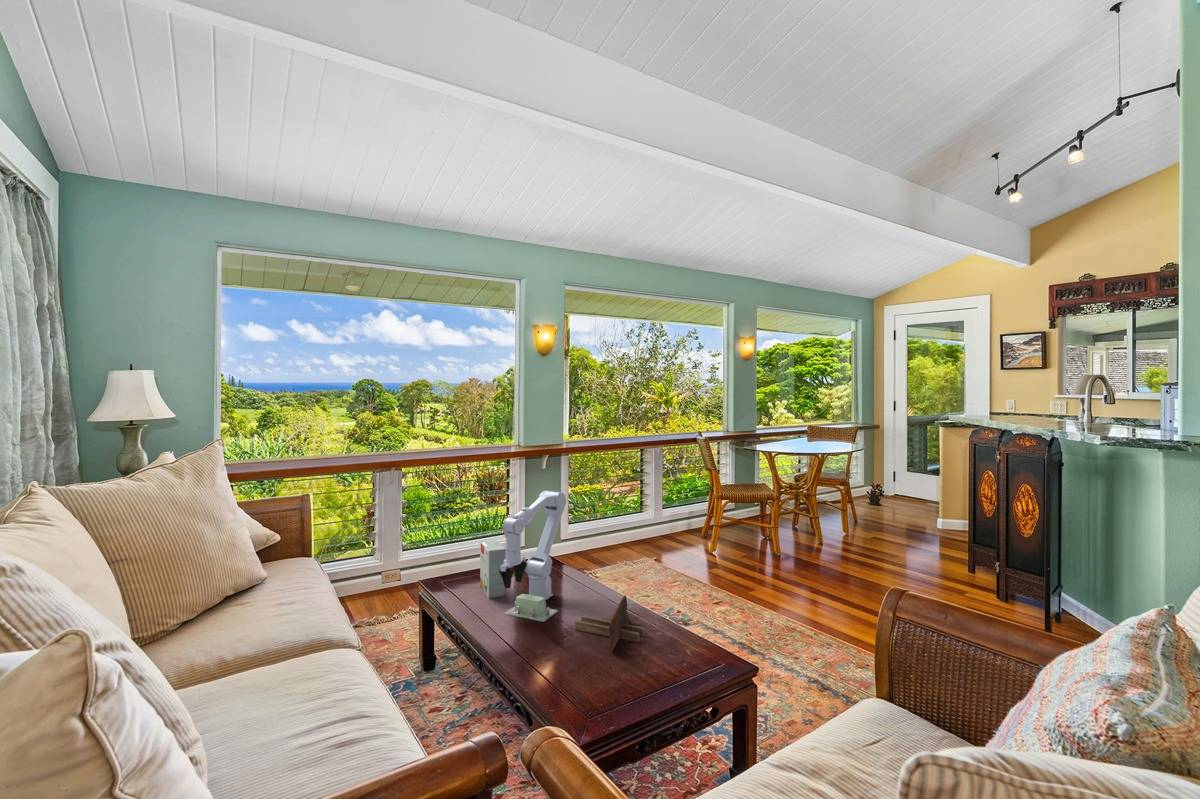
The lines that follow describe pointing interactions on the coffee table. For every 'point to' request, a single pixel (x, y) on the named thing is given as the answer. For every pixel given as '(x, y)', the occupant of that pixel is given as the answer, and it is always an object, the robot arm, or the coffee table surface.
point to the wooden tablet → (618, 622)
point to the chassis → (532, 613)
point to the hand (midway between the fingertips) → (513, 584)
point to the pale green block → (530, 603)
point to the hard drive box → (492, 568)
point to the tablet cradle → (603, 628)
